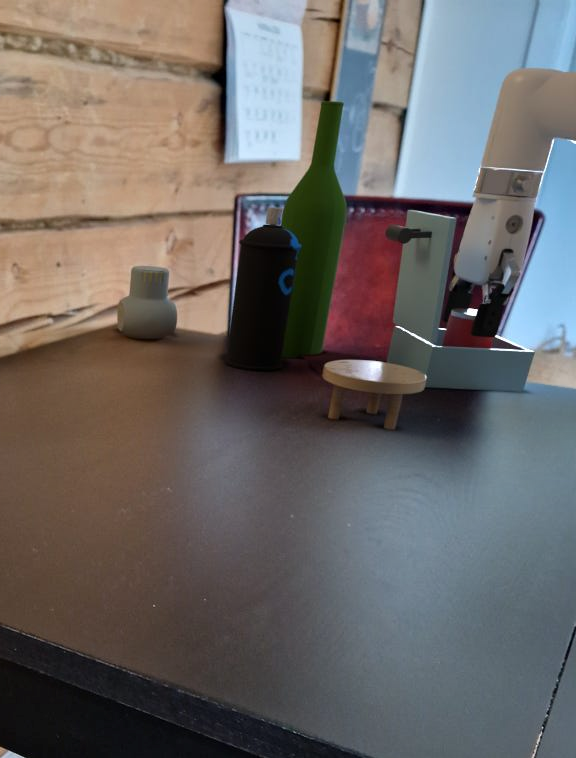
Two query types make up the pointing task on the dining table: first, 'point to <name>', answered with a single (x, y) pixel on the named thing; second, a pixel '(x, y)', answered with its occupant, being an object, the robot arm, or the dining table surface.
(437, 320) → the lid
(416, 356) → the pale blue open box
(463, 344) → the drink can
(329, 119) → the wine bottle
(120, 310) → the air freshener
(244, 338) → the aerosol can
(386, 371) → the stool
